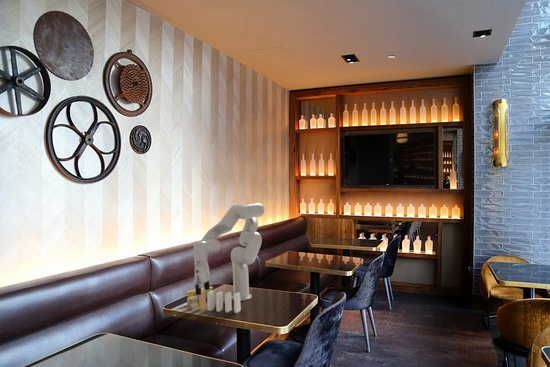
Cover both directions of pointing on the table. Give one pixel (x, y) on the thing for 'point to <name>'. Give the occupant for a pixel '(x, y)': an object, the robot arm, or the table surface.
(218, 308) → the domino
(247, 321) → the table surface
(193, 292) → the candy box
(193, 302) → the end block
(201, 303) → the domino
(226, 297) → the domino
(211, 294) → the domino
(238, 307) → the domino
